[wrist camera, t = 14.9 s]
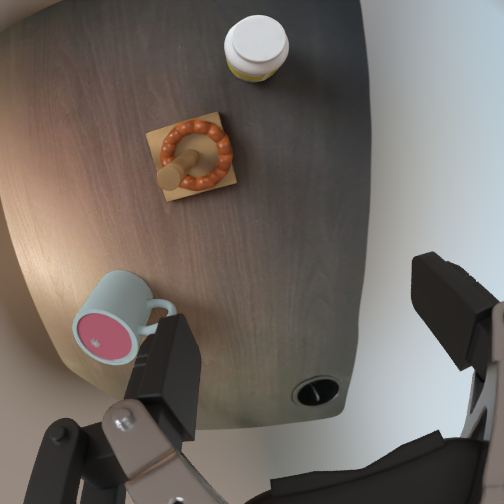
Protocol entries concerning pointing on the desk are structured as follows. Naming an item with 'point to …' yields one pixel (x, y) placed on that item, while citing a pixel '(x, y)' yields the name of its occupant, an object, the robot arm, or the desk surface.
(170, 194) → the stand
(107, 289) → the mug
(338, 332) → the desk surface
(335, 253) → the desk surface
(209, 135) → the ring
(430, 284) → the robot arm
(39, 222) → the desk surface
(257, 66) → the pill bottle
